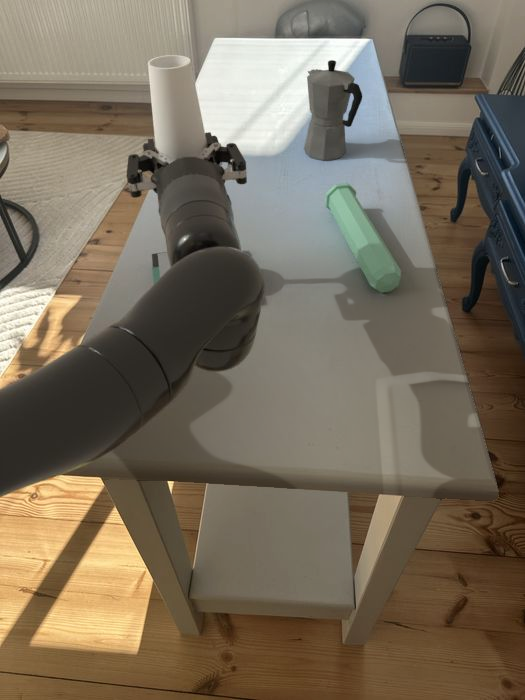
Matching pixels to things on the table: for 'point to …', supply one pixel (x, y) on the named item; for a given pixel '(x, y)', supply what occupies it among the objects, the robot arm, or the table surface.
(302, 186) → the table surface
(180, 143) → the champagne flute
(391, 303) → the table surface
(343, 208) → the container
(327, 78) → the coffeepot
